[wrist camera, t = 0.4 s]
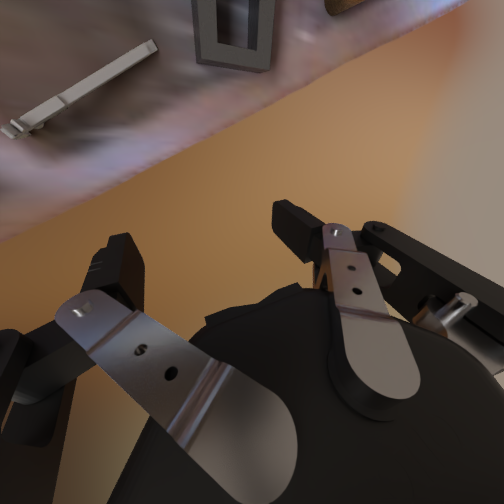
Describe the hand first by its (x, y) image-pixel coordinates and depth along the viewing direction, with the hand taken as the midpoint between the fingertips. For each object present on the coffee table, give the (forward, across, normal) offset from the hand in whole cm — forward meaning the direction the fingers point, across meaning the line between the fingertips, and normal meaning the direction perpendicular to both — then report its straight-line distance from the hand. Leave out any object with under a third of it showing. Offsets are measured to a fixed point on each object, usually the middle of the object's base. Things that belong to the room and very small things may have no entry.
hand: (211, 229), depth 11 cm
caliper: (+29, +8, -7) cm, 31 cm away
